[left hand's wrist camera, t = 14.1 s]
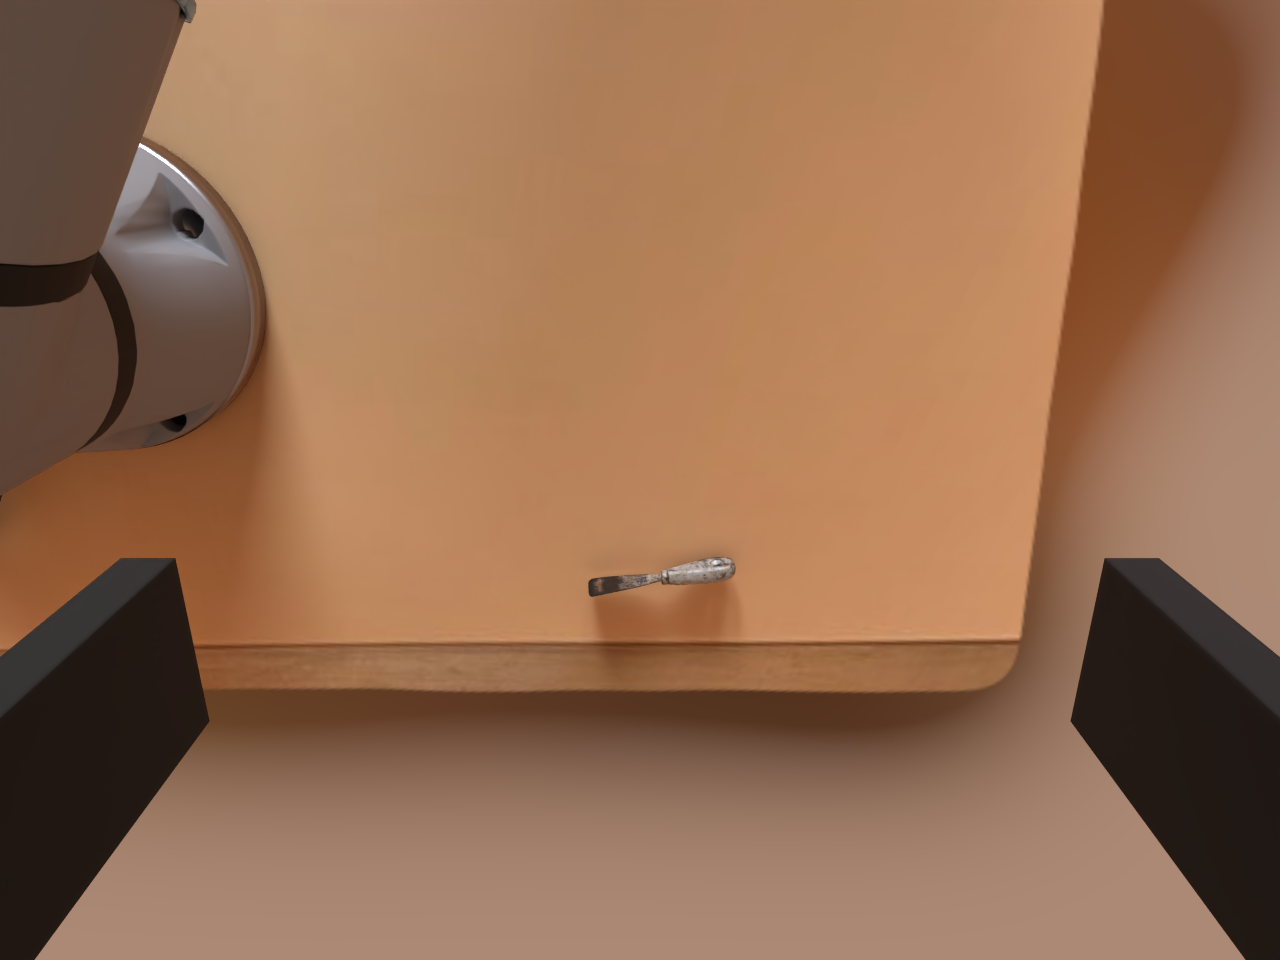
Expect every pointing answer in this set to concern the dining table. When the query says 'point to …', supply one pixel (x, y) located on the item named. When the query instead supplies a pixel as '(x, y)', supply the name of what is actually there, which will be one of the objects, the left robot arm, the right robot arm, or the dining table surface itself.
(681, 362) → the dining table surface
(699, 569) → the putty knife
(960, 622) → the dining table surface
